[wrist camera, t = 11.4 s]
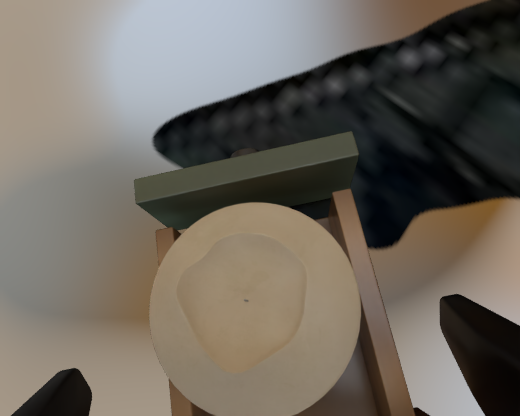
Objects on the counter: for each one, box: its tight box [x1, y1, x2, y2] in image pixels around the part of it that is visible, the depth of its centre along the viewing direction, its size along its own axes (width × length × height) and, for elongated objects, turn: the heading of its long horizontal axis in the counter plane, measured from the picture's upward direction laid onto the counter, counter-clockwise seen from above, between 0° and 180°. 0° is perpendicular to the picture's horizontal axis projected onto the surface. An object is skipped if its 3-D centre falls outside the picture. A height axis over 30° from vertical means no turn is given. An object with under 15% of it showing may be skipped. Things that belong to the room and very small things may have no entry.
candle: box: [149, 202, 361, 416], centre depth 13 cm, size 6×6×10 cm
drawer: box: [134, 132, 415, 416], centre depth 17 cm, size 14×10×5 cm
